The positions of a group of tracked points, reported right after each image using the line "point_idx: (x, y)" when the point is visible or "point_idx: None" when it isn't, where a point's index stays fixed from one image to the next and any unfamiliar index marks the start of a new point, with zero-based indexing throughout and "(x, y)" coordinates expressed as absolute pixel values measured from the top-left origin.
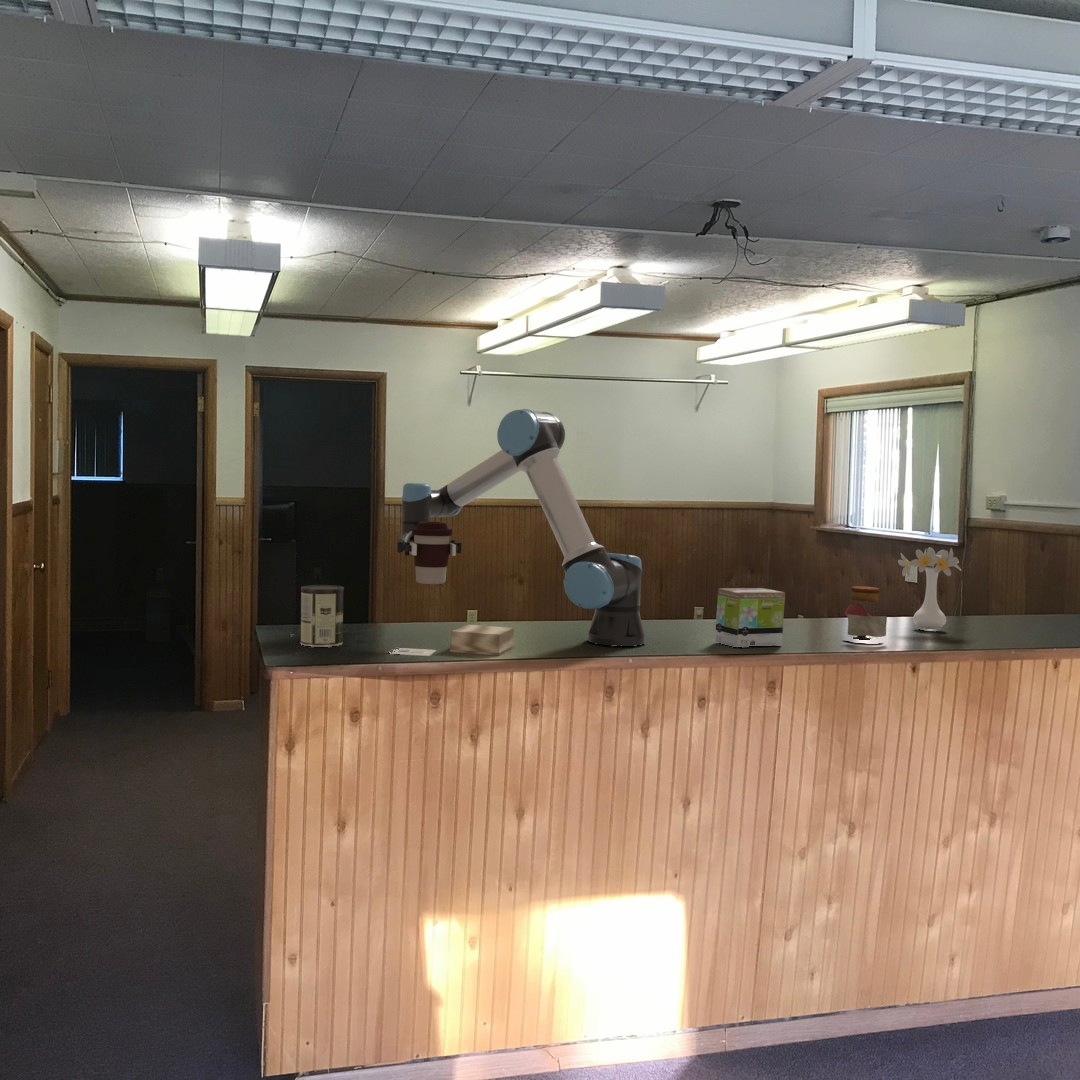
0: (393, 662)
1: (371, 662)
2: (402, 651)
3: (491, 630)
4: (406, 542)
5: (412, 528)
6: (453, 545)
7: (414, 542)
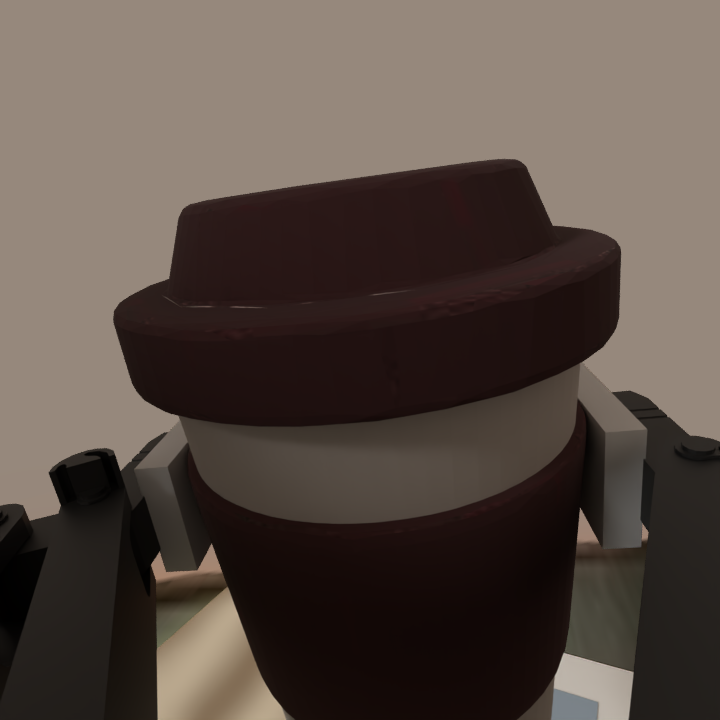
0: (577, 555)
1: (643, 555)
2: (578, 697)
3: (204, 665)
4: (704, 440)
5: (606, 235)
6: None
7: (641, 609)
